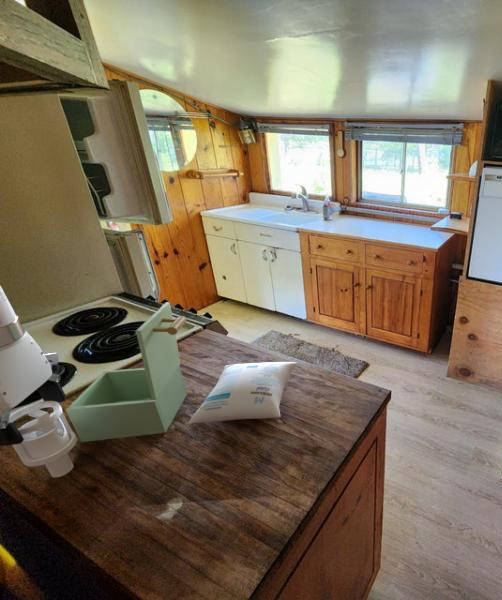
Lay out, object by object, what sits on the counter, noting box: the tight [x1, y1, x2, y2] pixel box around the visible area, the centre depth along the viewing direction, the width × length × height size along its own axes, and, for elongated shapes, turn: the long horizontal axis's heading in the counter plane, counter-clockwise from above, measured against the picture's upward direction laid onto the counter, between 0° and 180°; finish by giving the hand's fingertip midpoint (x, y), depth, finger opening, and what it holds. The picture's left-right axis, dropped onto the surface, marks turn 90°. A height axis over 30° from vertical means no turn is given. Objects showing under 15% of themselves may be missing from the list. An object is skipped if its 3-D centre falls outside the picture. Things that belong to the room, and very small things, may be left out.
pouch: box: [187, 361, 298, 424], centre depth 78 cm, size 8×19×20 cm
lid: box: [135, 301, 188, 400], centre depth 69 cm, size 16×13×5 cm
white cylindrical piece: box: [8, 400, 78, 479], centre depth 58 cm, size 7×7×15 cm
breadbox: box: [65, 366, 188, 443], centre depth 73 cm, size 16×13×9 cm
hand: (35, 420), depth 56 cm, fingers open, 9 cm apart
